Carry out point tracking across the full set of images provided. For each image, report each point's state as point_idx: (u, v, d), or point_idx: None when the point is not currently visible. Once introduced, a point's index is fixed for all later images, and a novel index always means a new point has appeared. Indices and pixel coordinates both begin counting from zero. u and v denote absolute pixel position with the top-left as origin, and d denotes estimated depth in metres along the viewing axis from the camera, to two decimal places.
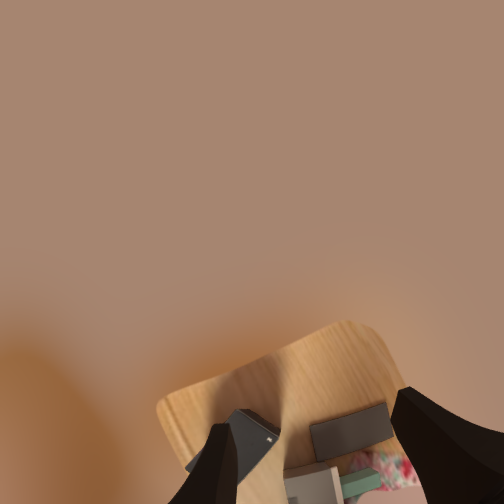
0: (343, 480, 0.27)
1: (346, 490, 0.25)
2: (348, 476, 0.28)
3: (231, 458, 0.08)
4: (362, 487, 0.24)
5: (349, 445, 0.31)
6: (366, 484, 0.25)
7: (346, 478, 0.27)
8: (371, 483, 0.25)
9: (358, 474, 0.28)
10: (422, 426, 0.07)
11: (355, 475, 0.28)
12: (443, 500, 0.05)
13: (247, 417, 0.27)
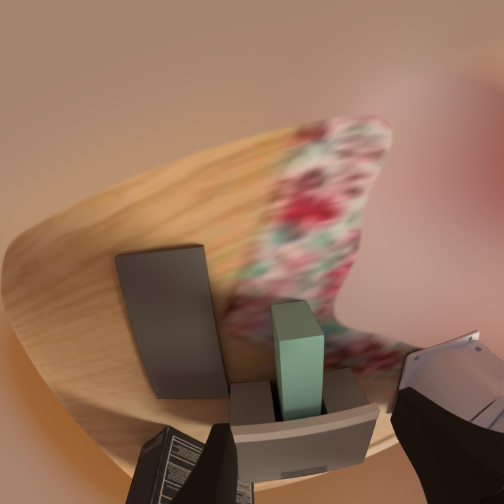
0: (278, 381, 0.17)
1: (300, 402, 0.15)
2: (276, 358, 0.18)
3: (231, 458, 0.08)
4: (307, 375, 0.15)
5: (202, 348, 0.19)
6: (302, 368, 0.15)
7: (277, 369, 0.18)
8: (304, 357, 0.14)
9: (276, 347, 0.17)
10: (422, 426, 0.07)
11: (276, 353, 0.17)
12: (443, 500, 0.05)
13: None
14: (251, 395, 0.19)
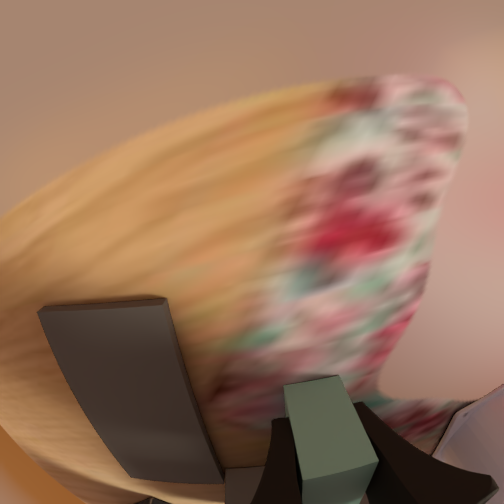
0: None
1: None
2: None
3: None
4: (341, 499, 0.07)
5: (181, 438, 0.11)
6: (335, 496, 0.07)
7: None
8: (340, 487, 0.06)
9: None
10: None
11: None
12: None
13: None
14: (253, 489, 0.11)
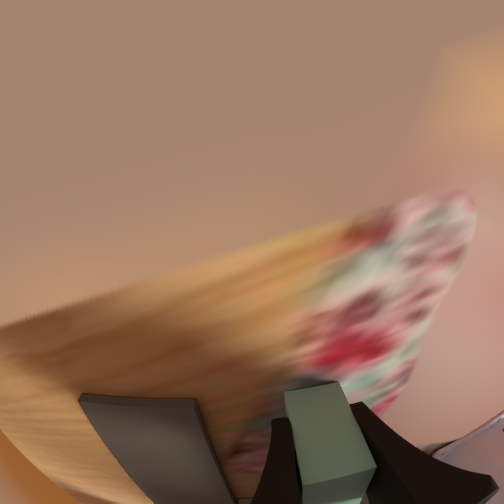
0: None
1: None
2: None
3: None
4: (340, 503, 0.07)
5: (204, 482, 0.12)
6: (334, 500, 0.07)
7: None
8: (339, 491, 0.06)
9: None
10: None
11: None
12: None
13: None
14: None
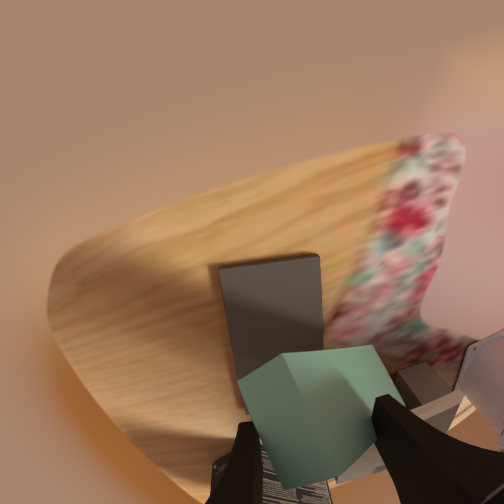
0: None
1: None
2: None
3: (259, 456, 0.08)
4: None
5: None
6: None
7: None
8: None
9: None
10: (397, 436, 0.07)
11: None
12: None
13: None
14: None
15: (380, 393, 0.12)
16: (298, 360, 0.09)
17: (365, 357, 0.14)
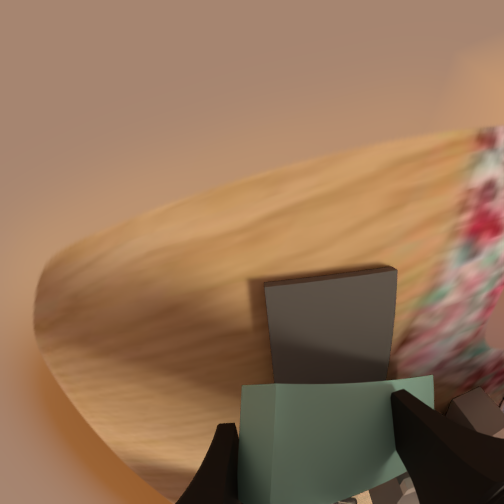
0: None
1: None
2: None
3: (236, 458, 0.08)
4: None
5: None
6: None
7: None
8: None
9: None
10: (415, 429, 0.07)
11: None
12: None
13: None
14: None
15: None
16: (297, 394, 0.08)
17: (411, 393, 0.10)
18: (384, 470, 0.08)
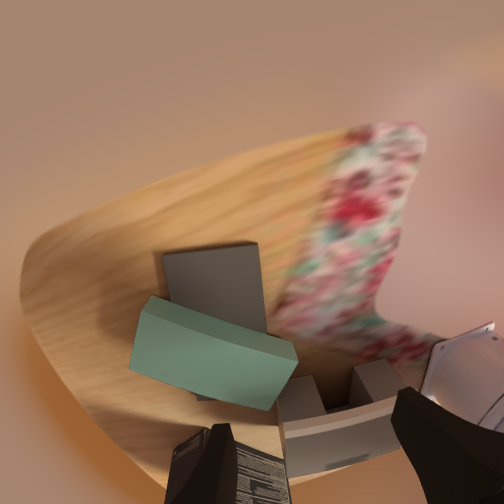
0: None
1: None
2: None
3: (231, 458, 0.08)
4: None
5: None
6: None
7: None
8: None
9: None
10: (422, 426, 0.07)
11: None
12: (443, 500, 0.05)
13: None
14: (297, 390, 0.19)
15: (235, 384, 0.17)
16: (152, 320, 0.15)
17: (257, 361, 0.16)
18: (209, 390, 0.17)
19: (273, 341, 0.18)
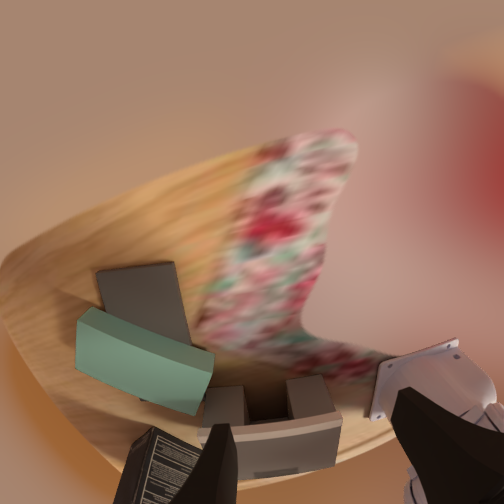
0: None
1: None
2: None
3: (231, 458, 0.08)
4: None
5: None
6: None
7: None
8: None
9: None
10: (422, 426, 0.07)
11: None
12: (443, 500, 0.05)
13: None
14: (224, 399, 0.20)
15: (159, 389, 0.18)
16: (86, 328, 0.16)
17: (174, 370, 0.17)
18: (139, 391, 0.18)
19: (194, 352, 0.19)
